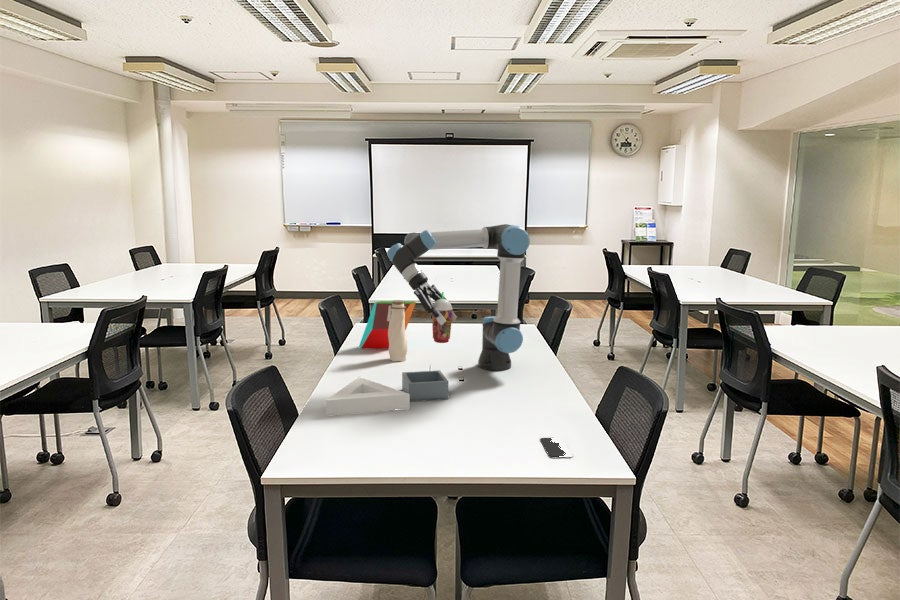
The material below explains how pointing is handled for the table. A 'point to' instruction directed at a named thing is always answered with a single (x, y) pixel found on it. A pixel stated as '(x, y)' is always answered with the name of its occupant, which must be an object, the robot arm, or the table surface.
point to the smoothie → (443, 331)
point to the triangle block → (366, 398)
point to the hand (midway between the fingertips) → (449, 321)
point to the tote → (425, 385)
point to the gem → (382, 324)
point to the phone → (552, 447)
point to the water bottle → (397, 331)
